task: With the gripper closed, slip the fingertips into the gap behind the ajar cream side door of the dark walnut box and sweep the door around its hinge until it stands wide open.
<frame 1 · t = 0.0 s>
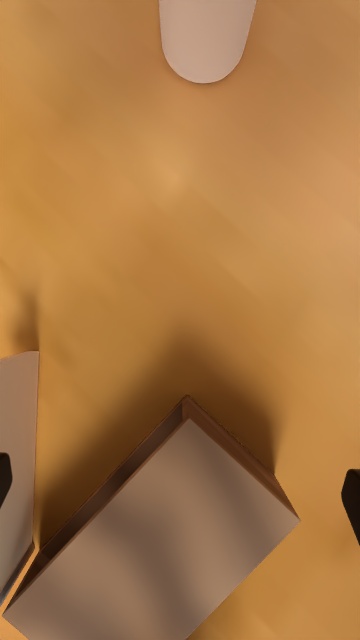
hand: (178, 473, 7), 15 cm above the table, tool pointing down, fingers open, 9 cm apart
can: (202, 47, 22), on the table
walnut box: (156, 513, 23), on the table
door: (7, 471, 21), point 2 cm above the table, hinge at 40.0°
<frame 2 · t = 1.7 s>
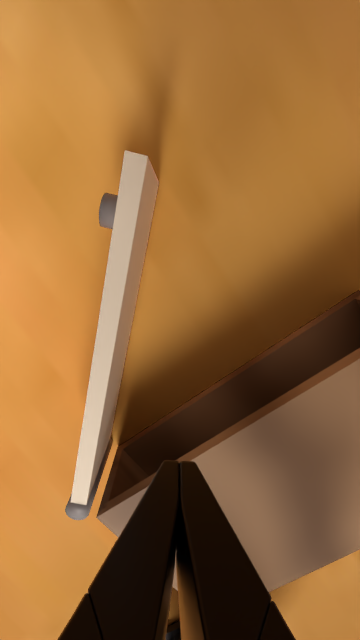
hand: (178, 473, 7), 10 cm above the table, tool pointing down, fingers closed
walnut box: (269, 430, 19), on the table
door: (105, 348, 14), point 2 cm above the table, hinge at 40.0°
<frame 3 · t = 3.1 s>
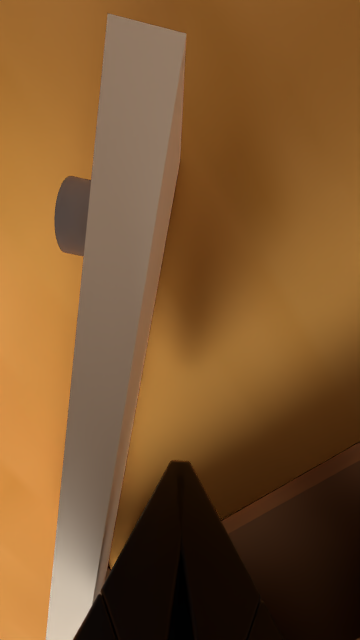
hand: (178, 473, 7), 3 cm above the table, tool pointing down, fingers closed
walnut box: (354, 551, 12), on the table
door: (90, 476, 8), point 3 cm above the table, hinge at 41.1°, touching gripper
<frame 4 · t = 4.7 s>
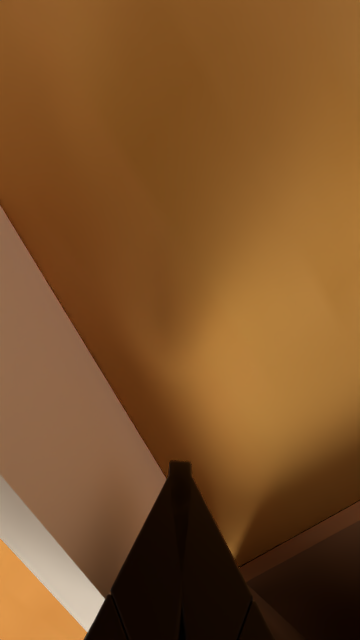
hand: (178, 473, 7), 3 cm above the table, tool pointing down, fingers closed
door: (101, 499, 8), point 2 cm above the table, hinge at 76.8°, touching gripper
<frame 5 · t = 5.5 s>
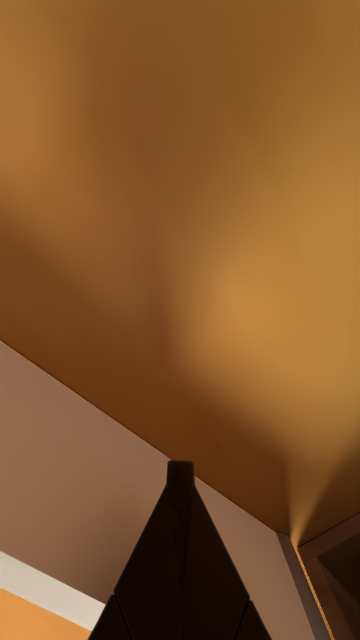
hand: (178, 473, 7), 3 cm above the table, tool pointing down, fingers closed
door: (115, 515, 8), point 2 cm above the table, hinge at 100.0°, touching gripper
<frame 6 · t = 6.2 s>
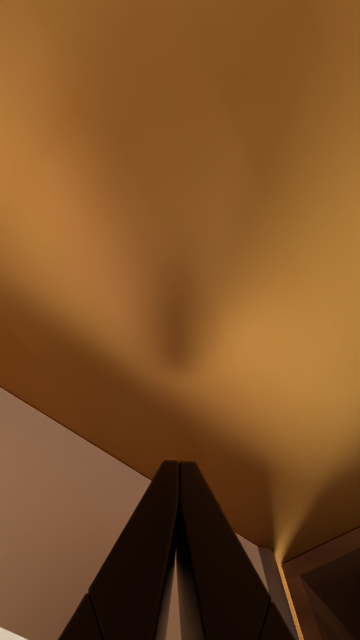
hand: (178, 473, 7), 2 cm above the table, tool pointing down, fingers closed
door: (69, 536, 8), point 3 cm above the table, hinge at 105.2°
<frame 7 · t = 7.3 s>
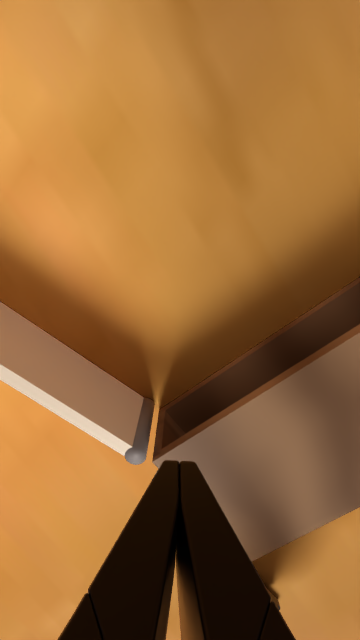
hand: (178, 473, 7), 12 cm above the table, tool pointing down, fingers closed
walnut box: (299, 393, 20), on the table
door: (30, 362, 17), point 3 cm above the table, hinge at 105.2°
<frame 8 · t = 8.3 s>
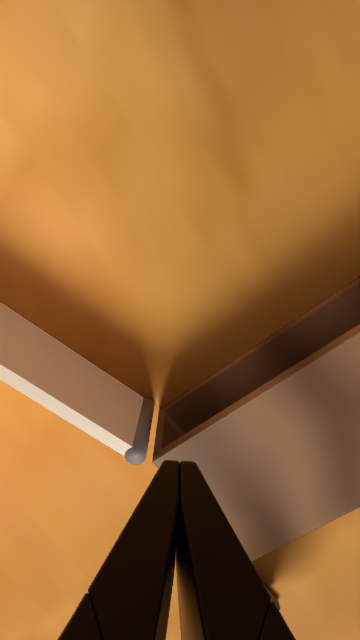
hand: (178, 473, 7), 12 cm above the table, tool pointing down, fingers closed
walnut box: (299, 393, 20), on the table
door: (30, 362, 17), point 2 cm above the table, hinge at 105.2°
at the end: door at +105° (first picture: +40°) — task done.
